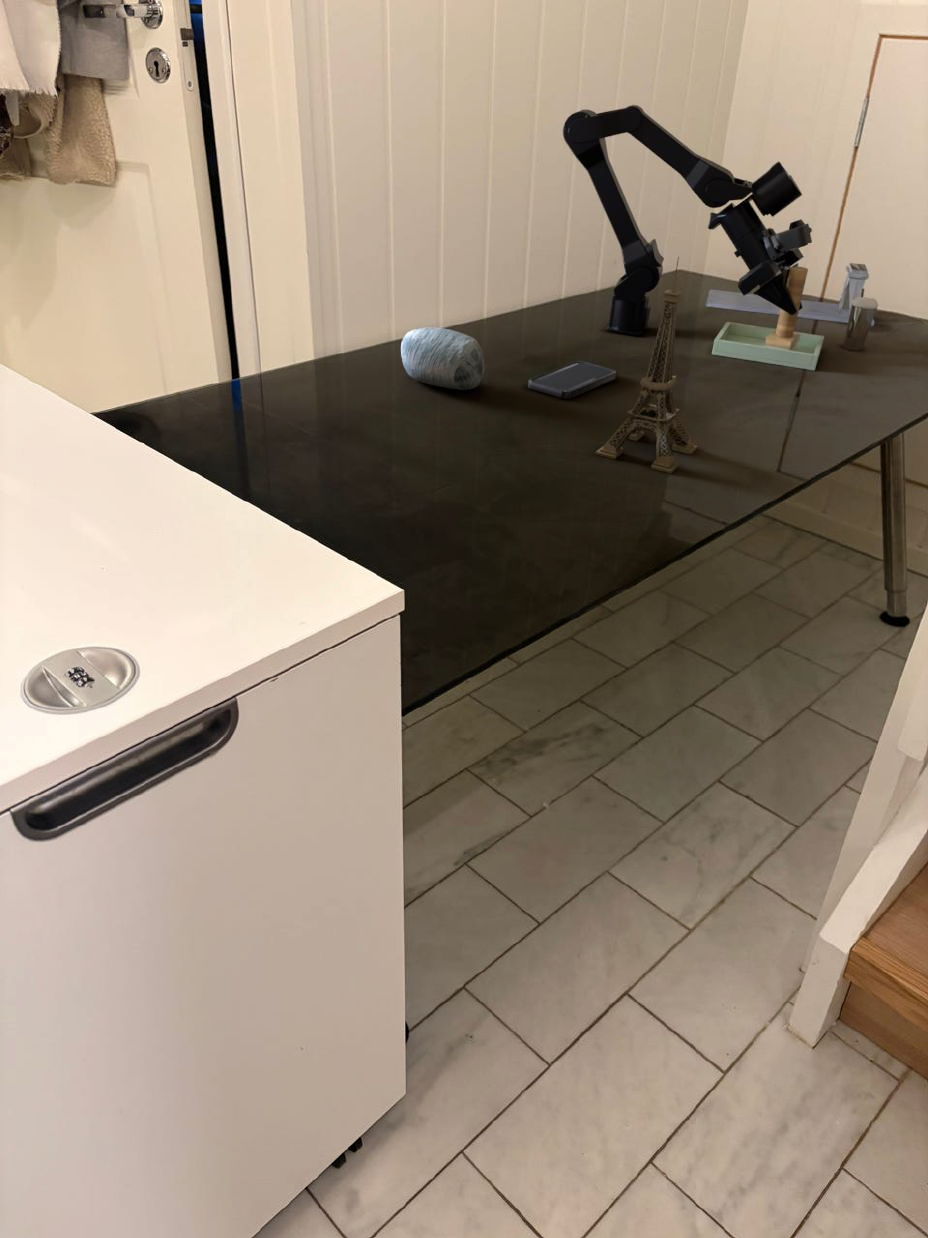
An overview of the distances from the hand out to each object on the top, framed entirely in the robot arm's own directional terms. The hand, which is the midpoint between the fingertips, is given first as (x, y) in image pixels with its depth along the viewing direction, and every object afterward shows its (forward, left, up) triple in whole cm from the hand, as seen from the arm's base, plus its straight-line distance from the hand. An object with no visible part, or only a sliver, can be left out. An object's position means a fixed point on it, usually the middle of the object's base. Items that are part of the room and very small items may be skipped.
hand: (797, 311), depth 165 cm
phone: (-29, -35, -8) cm, 46 cm away
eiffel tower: (-12, -57, -8) cm, 59 cm away
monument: (-3, +35, -8) cm, 36 cm away
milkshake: (+11, +12, -8) cm, 18 cm away
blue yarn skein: (-47, -46, -8) cm, 66 cm away
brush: (-1, 0, -7) cm, 7 cm away
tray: (-3, 0, -8) cm, 8 cm away
